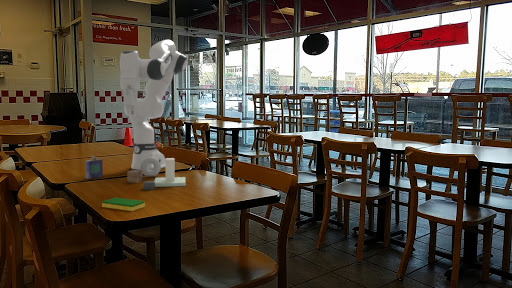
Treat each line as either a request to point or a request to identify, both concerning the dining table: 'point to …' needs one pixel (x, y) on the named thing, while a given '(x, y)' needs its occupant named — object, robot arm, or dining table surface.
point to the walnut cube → (134, 176)
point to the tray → (170, 182)
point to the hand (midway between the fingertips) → (130, 115)
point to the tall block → (170, 169)
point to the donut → (146, 162)
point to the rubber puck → (149, 185)
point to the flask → (93, 168)
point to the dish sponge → (123, 204)
